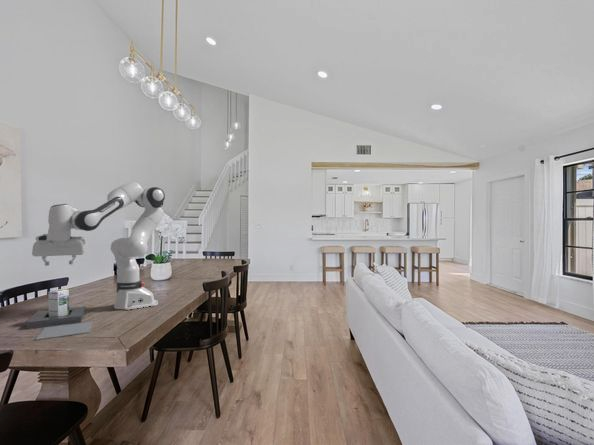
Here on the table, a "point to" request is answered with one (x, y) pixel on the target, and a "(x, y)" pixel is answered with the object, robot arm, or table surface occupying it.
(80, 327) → the grey mat
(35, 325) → the holder block
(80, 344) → the table surface
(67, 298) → the syrup box
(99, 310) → the table surface
